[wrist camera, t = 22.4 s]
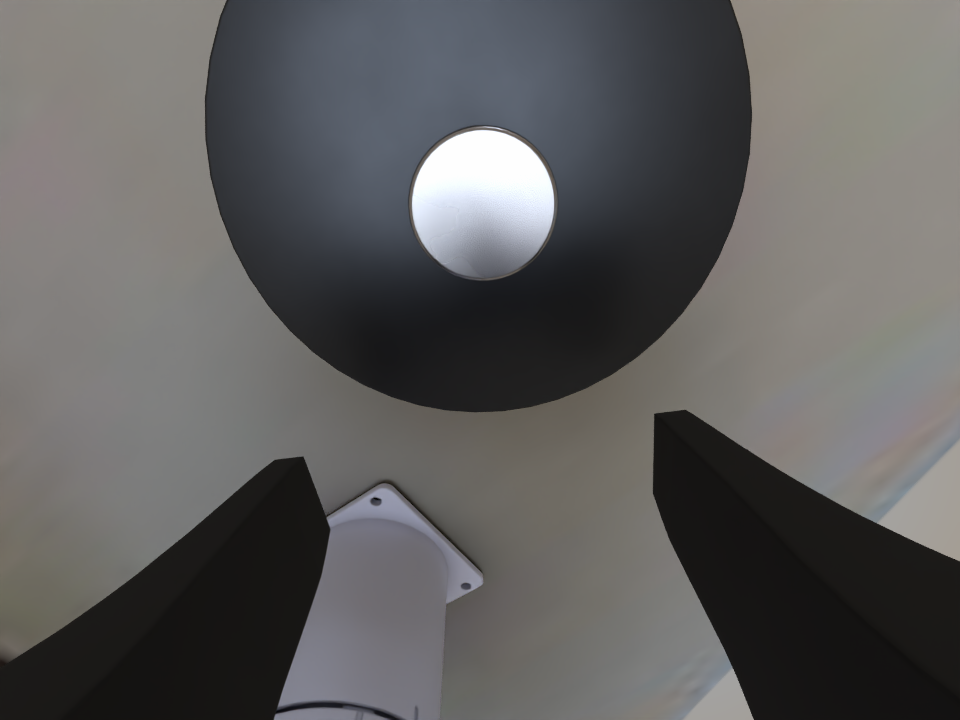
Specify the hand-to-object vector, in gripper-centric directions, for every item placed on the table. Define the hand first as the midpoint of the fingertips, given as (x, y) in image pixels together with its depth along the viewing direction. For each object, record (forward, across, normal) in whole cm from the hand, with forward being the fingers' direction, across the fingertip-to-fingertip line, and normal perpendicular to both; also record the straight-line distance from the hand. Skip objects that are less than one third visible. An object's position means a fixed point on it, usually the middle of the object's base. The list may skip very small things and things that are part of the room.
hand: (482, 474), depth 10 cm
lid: (+4, -1, -5) cm, 7 cm away
